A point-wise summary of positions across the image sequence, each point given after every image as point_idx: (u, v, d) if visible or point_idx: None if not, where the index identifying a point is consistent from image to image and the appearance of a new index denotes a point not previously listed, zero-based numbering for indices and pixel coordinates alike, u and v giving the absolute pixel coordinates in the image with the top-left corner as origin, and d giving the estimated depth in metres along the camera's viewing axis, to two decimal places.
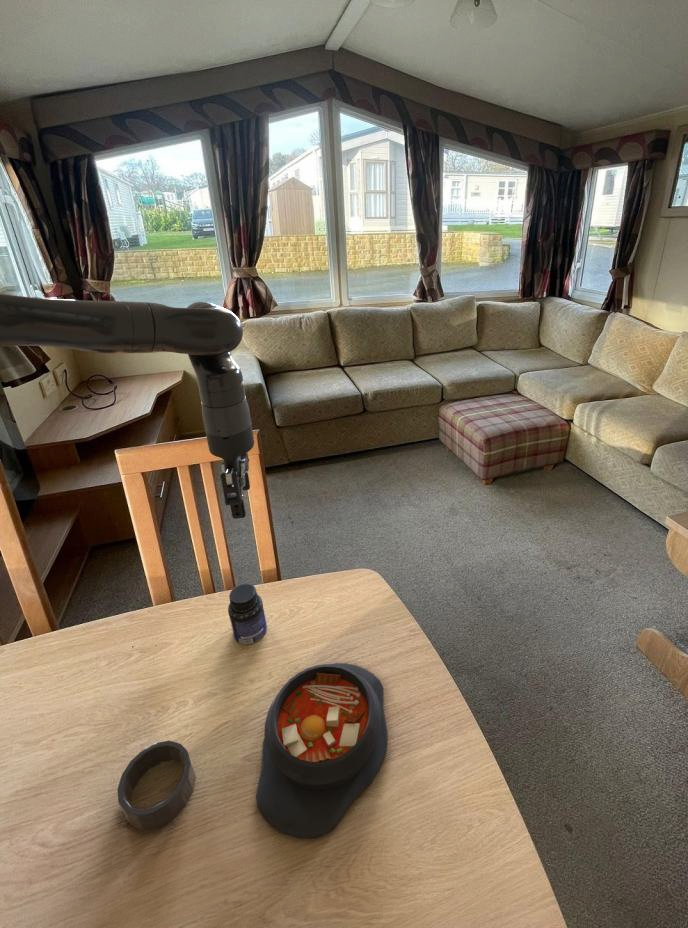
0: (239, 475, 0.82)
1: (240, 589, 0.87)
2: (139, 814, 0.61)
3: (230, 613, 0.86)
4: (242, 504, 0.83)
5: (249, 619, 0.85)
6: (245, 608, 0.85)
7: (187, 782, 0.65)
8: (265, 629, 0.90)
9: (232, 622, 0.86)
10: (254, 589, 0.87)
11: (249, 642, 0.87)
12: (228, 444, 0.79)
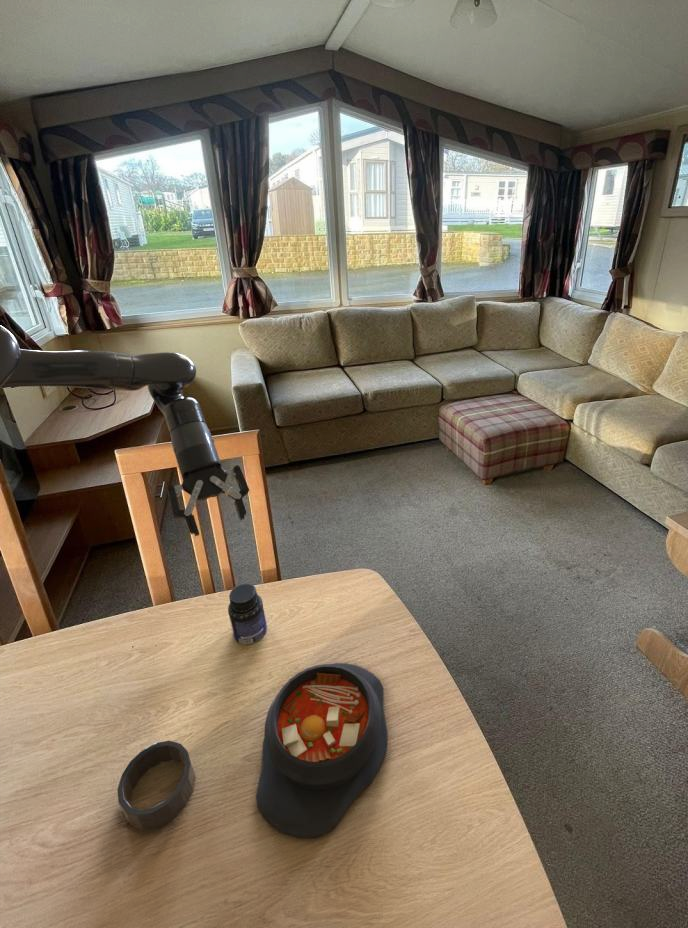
0: None
1: (240, 589, 0.87)
2: (139, 814, 0.61)
3: (230, 613, 0.86)
4: (191, 520, 0.90)
5: (249, 619, 0.85)
6: (245, 608, 0.85)
7: (187, 782, 0.65)
8: (265, 629, 0.90)
9: (232, 622, 0.86)
10: (254, 589, 0.87)
11: (249, 642, 0.87)
12: (178, 463, 0.93)
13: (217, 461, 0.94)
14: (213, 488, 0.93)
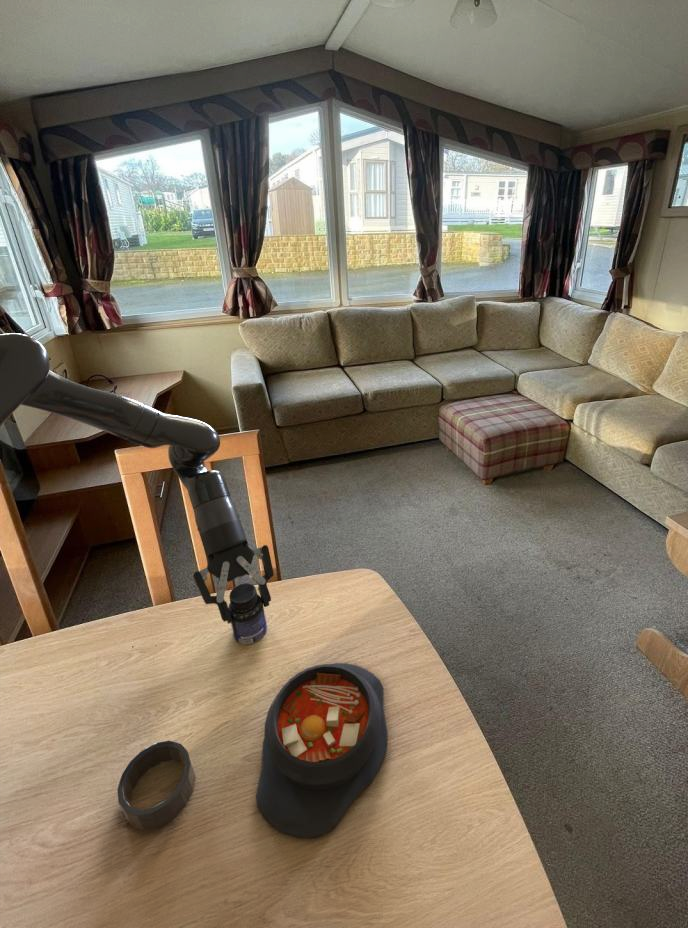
0: (219, 576, 0.86)
1: (240, 589, 0.87)
2: (139, 814, 0.61)
3: (230, 613, 0.86)
4: (223, 607, 0.85)
5: (249, 619, 0.85)
6: (245, 608, 0.85)
7: (187, 782, 0.65)
8: (265, 629, 0.90)
9: (232, 622, 0.86)
10: (254, 589, 0.87)
11: (249, 642, 0.87)
12: (202, 543, 0.88)
13: (244, 539, 0.89)
14: (240, 569, 0.88)
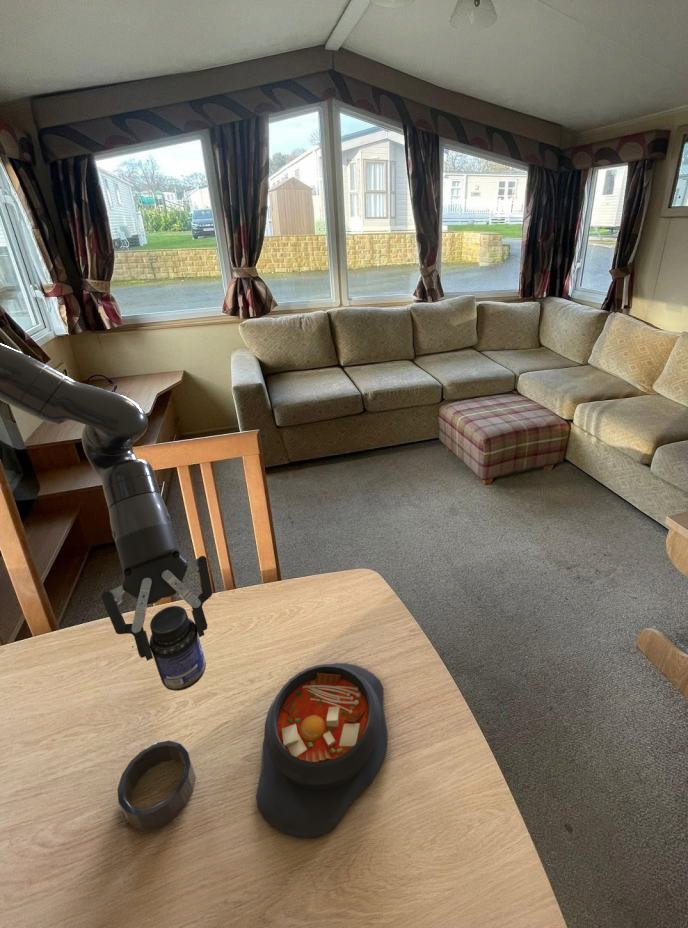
0: (138, 597, 0.66)
1: (166, 614, 0.66)
2: (139, 814, 0.61)
3: (151, 646, 0.65)
4: (141, 639, 0.64)
5: (176, 654, 0.65)
6: (170, 640, 0.65)
7: (187, 782, 0.65)
8: (201, 665, 0.69)
9: (154, 657, 0.66)
10: (184, 614, 0.66)
11: (178, 683, 0.67)
12: (118, 553, 0.67)
13: (173, 549, 0.68)
14: (166, 587, 0.67)
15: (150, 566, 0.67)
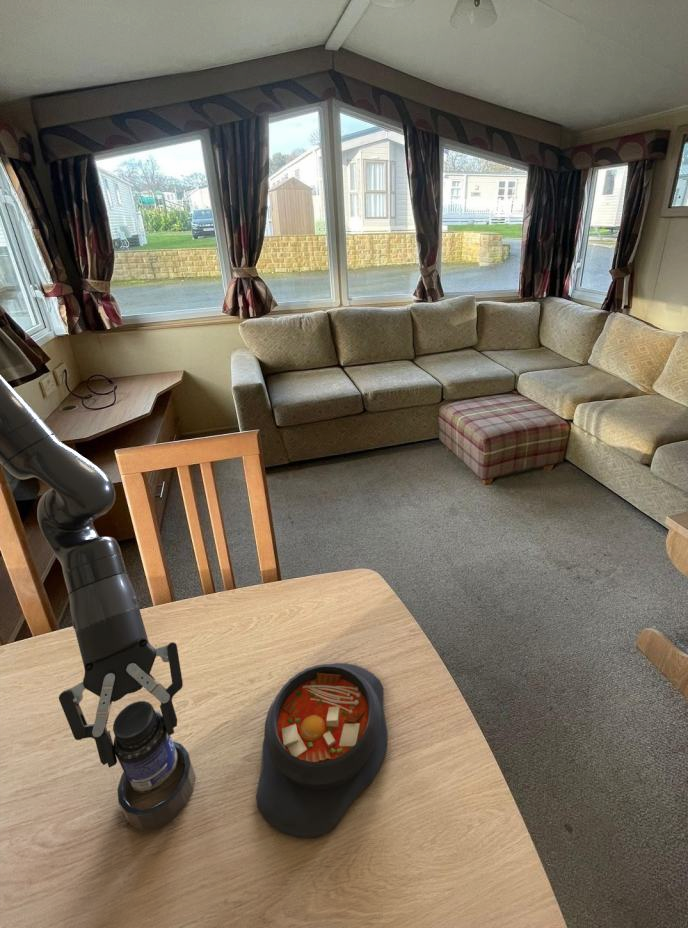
0: (100, 695, 0.60)
1: (131, 712, 0.61)
2: (139, 814, 0.61)
3: (115, 749, 0.60)
4: (103, 743, 0.59)
5: (142, 758, 0.59)
6: (135, 743, 0.59)
7: (187, 782, 0.65)
8: (171, 762, 0.64)
9: (119, 760, 0.60)
10: (151, 712, 0.61)
11: (145, 786, 0.61)
12: None
13: (139, 638, 0.63)
14: (132, 682, 0.62)
15: (114, 658, 0.62)
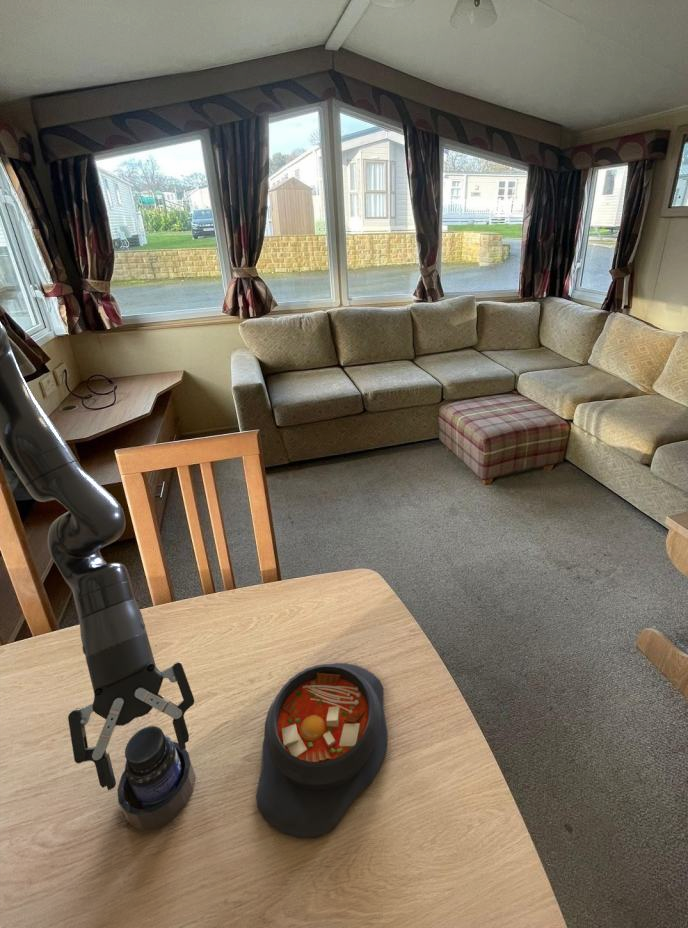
0: None
1: (142, 737, 0.63)
2: (139, 814, 0.61)
3: (126, 773, 0.62)
4: (102, 766, 0.60)
5: (153, 782, 0.62)
6: (146, 767, 0.62)
7: (187, 782, 0.65)
8: None
9: (130, 784, 0.63)
10: (161, 737, 0.63)
11: None
12: None
13: (147, 663, 0.65)
14: (140, 706, 0.64)
15: (122, 683, 0.64)
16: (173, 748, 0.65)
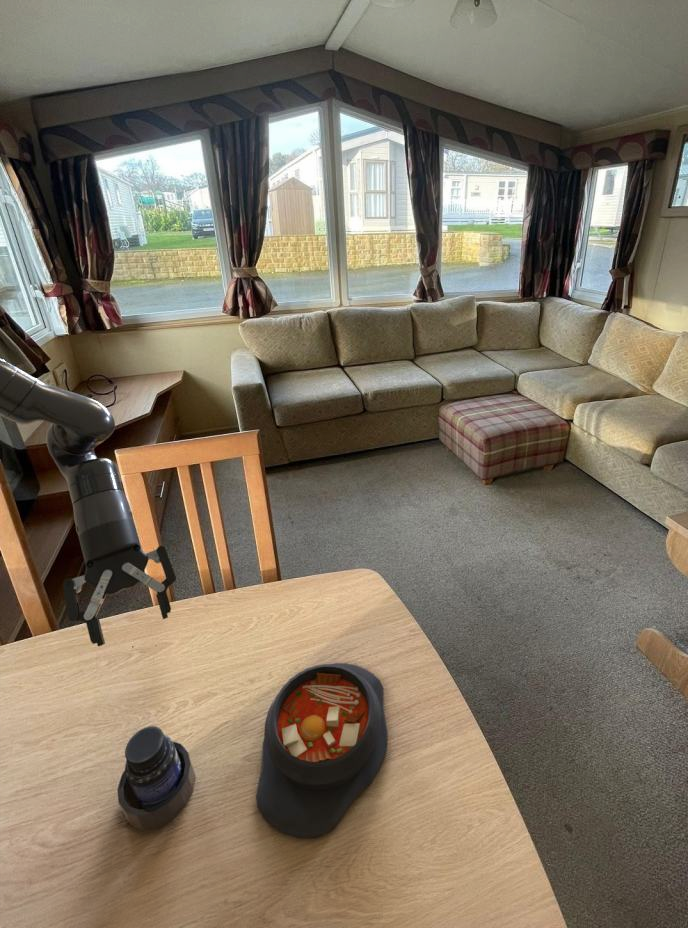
0: None
1: (142, 737, 0.63)
2: (139, 814, 0.61)
3: (126, 773, 0.62)
4: (93, 626, 0.68)
5: (153, 782, 0.62)
6: (146, 767, 0.62)
7: (187, 782, 0.65)
8: None
9: (130, 784, 0.63)
10: (161, 737, 0.63)
11: None
12: (81, 547, 0.71)
13: (133, 542, 0.72)
14: (127, 579, 0.71)
15: (111, 559, 0.72)
16: (173, 748, 0.65)
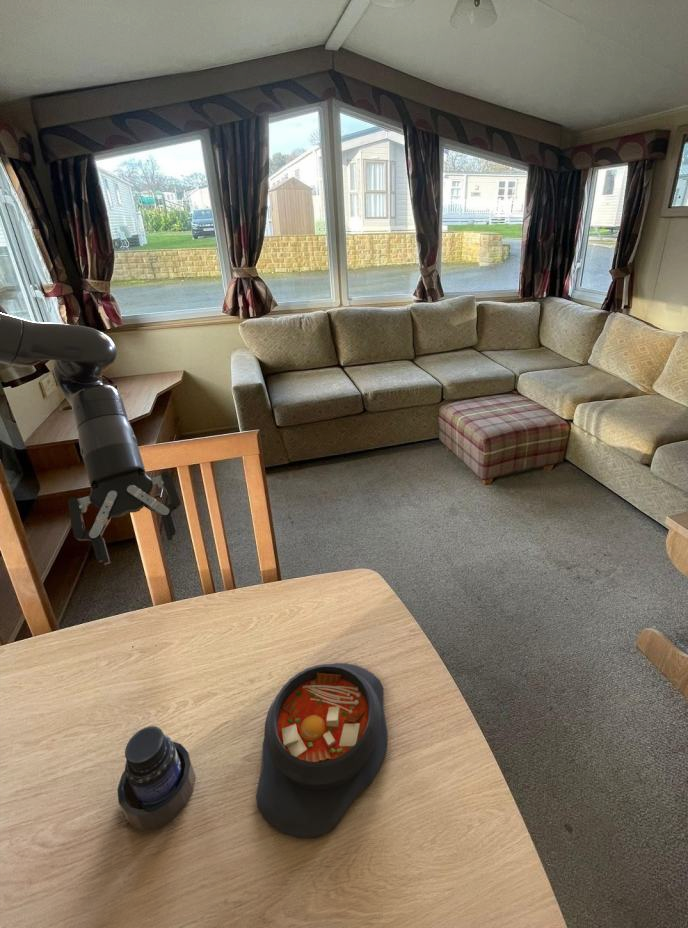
0: None
1: (142, 737, 0.63)
2: (139, 814, 0.61)
3: (126, 773, 0.62)
4: (98, 544, 0.68)
5: (153, 782, 0.62)
6: (146, 767, 0.62)
7: (187, 782, 0.65)
8: None
9: (130, 784, 0.63)
10: (161, 737, 0.63)
11: None
12: (86, 469, 0.72)
13: (138, 466, 0.73)
14: (132, 501, 0.72)
15: (116, 481, 0.72)
16: (173, 748, 0.65)
